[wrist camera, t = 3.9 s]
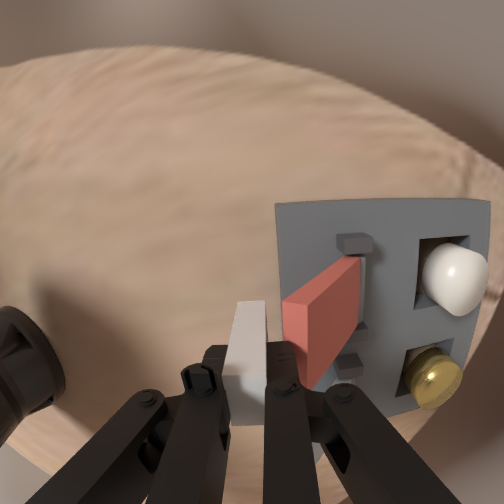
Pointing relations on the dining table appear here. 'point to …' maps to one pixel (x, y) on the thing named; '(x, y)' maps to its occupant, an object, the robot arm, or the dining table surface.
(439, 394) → the button brass
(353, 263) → the paddle red
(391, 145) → the dining table surface
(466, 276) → the button white
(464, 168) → the dining table surface
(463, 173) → the dining table surface
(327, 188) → the dining table surface
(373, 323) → the panel
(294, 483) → the robot arm
